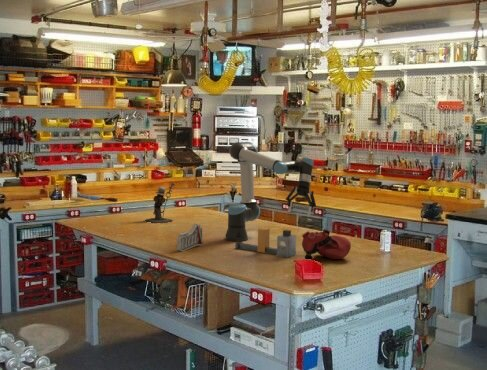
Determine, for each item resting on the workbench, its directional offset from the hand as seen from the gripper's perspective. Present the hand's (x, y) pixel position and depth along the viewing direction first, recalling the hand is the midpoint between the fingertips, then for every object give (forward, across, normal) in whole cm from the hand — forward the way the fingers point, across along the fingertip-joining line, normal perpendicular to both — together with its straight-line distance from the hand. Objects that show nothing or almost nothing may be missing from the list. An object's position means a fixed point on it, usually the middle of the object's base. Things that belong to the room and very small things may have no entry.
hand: (298, 214), depth 383 cm
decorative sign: (+33, -60, +20) cm, 71 cm away
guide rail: (+28, -21, +2) cm, 35 cm away
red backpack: (+27, +9, -27) cm, 39 cm away
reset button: (+19, -12, -15) cm, 27 cm away
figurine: (+10, -64, +122) cm, 138 cm away
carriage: (+28, -19, 0) cm, 34 cm away
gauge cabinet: (+28, -9, -13) cm, 32 cm away
